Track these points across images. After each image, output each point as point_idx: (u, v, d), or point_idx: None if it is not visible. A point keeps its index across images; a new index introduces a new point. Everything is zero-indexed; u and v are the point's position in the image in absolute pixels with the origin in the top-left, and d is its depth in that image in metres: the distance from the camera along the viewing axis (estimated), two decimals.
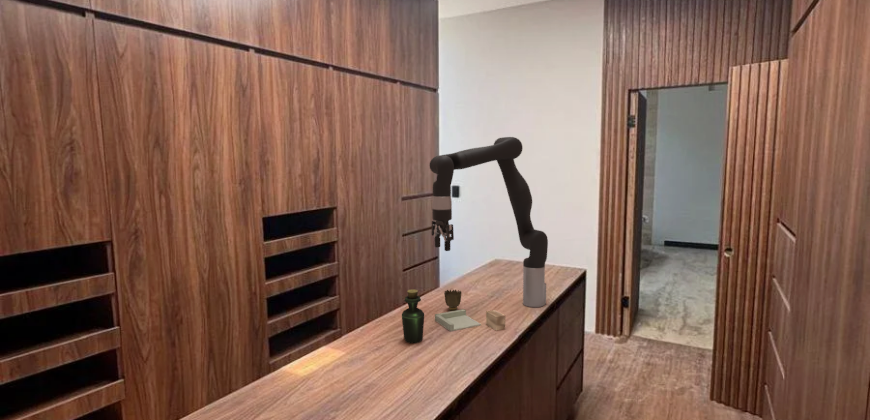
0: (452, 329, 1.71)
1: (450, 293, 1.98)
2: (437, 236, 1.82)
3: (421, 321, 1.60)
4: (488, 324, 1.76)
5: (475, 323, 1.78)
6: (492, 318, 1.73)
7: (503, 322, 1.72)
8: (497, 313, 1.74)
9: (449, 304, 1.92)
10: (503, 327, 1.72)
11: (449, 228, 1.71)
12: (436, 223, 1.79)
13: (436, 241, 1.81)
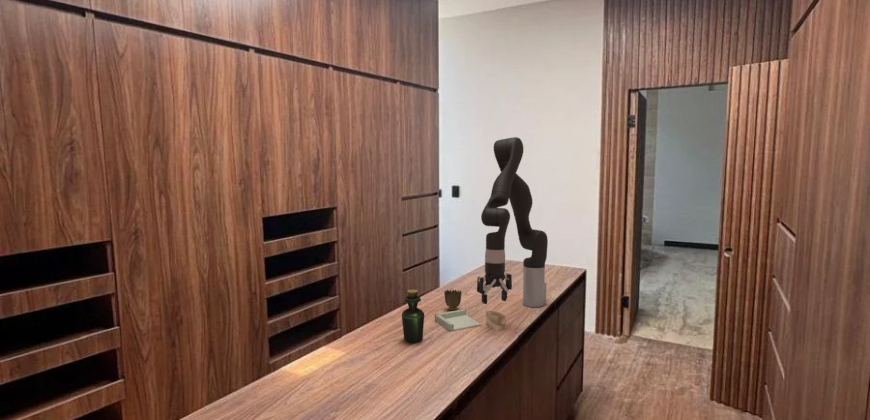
0: (452, 329, 1.71)
1: (450, 293, 1.98)
2: None
3: (421, 321, 1.60)
4: (488, 324, 1.76)
5: (475, 323, 1.78)
6: (492, 318, 1.73)
7: (503, 322, 1.72)
8: (497, 313, 1.74)
9: (449, 304, 1.92)
10: (503, 327, 1.72)
11: None
12: (490, 278, 1.71)
13: None
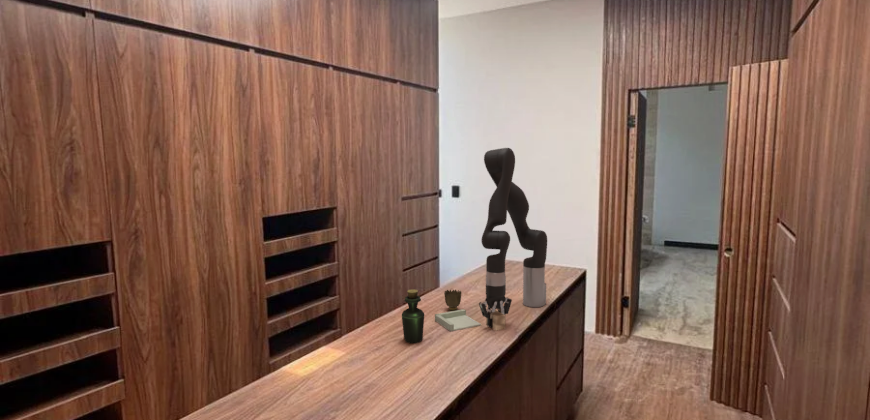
0: (452, 329, 1.71)
1: (450, 293, 1.98)
2: None
3: (421, 321, 1.60)
4: None
5: (475, 323, 1.78)
6: (492, 318, 1.73)
7: (503, 322, 1.72)
8: (497, 313, 1.74)
9: (449, 304, 1.92)
10: (503, 327, 1.72)
11: None
12: (490, 300, 1.72)
13: None
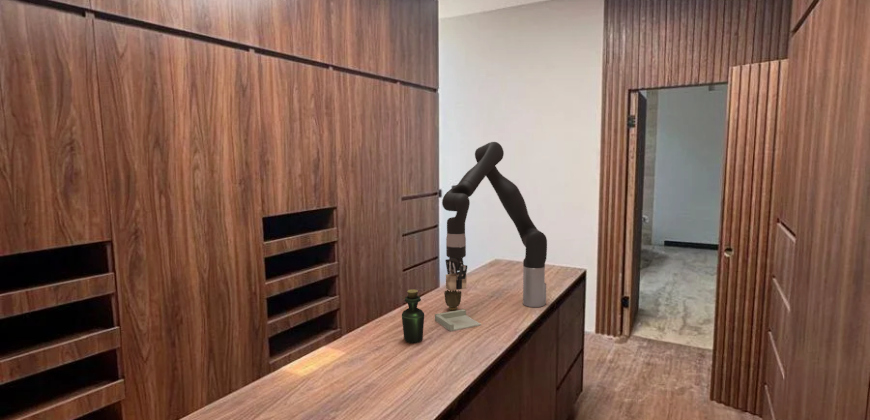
0: (452, 329, 1.71)
1: (450, 293, 1.98)
2: None
3: (421, 321, 1.60)
4: (454, 288, 1.76)
5: (475, 323, 1.78)
6: None
7: None
8: None
9: (449, 304, 1.92)
10: None
11: None
12: None
13: None
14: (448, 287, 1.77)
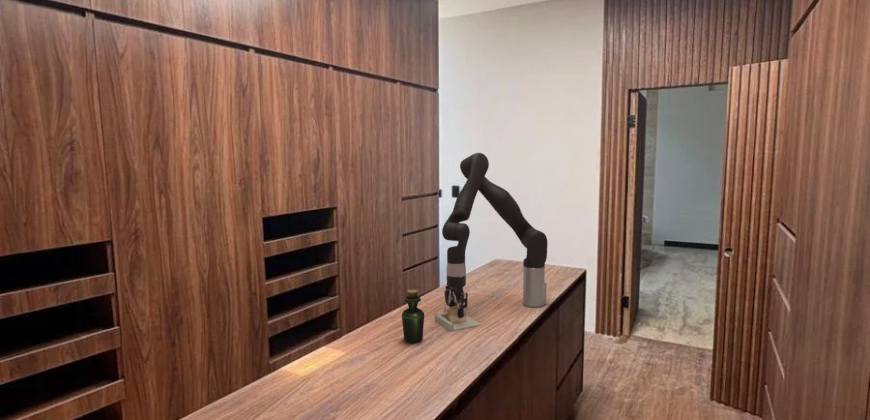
0: (452, 329, 1.71)
1: None
2: None
3: (421, 321, 1.60)
4: (454, 321, 1.77)
5: (475, 323, 1.78)
6: None
7: None
8: (456, 307, 1.80)
9: None
10: None
11: None
12: None
13: None
14: (448, 320, 1.78)
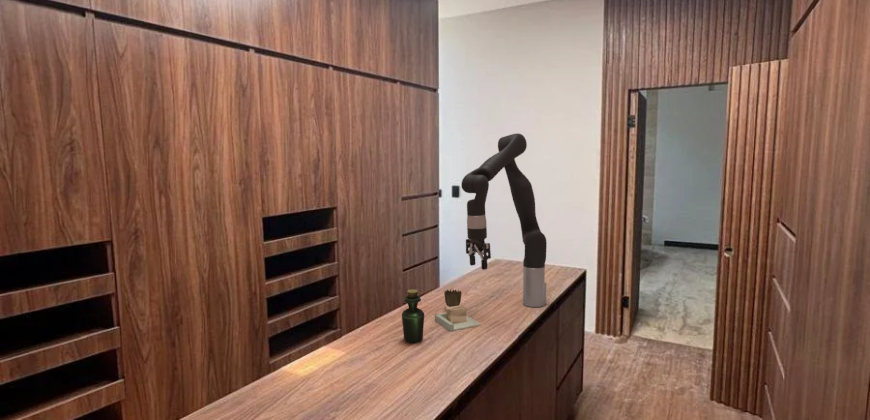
0: (452, 329, 1.71)
1: (450, 293, 1.98)
2: None
3: (421, 321, 1.60)
4: (454, 321, 1.77)
5: (475, 323, 1.78)
6: (461, 311, 1.78)
7: None
8: (456, 307, 1.80)
9: (449, 304, 1.92)
10: None
11: None
12: None
13: None
14: (448, 320, 1.78)
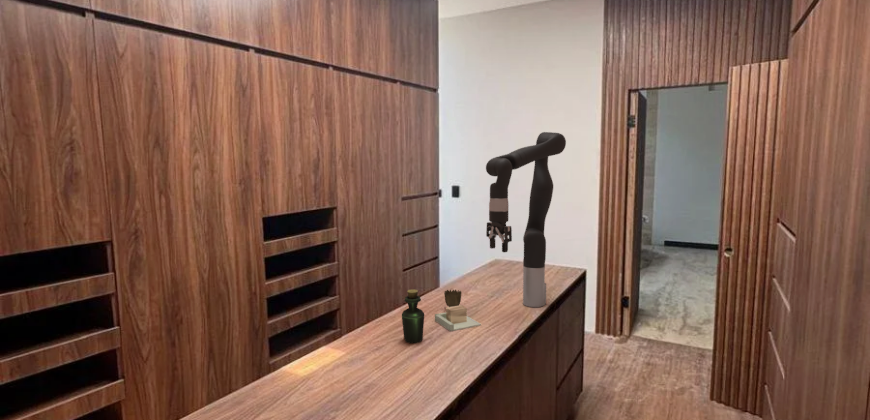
0: (452, 329, 1.71)
1: (450, 293, 1.98)
2: None
3: (421, 321, 1.60)
4: (454, 321, 1.77)
5: (475, 323, 1.78)
6: (461, 311, 1.78)
7: None
8: (456, 307, 1.80)
9: (449, 304, 1.92)
10: None
11: None
12: None
13: None
14: (448, 320, 1.78)
